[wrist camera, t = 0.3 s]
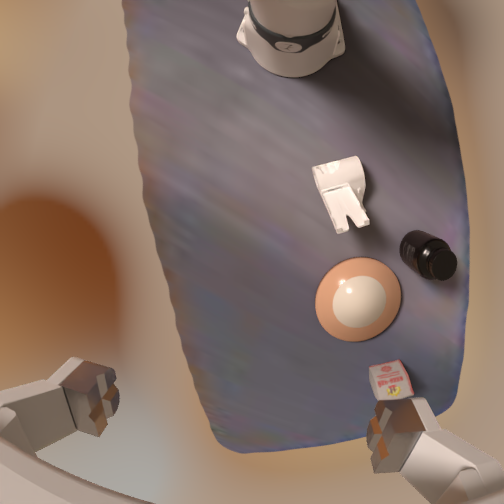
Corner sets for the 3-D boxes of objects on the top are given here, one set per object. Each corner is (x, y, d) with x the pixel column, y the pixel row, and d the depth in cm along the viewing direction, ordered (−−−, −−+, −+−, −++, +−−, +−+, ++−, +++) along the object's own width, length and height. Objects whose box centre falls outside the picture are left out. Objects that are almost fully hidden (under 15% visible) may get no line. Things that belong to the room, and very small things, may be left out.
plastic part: (353, 156, 50) (371, 151, 39) (367, 213, 52) (388, 222, 41) (311, 167, 52) (318, 164, 40) (326, 224, 53) (337, 236, 42)
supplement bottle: (417, 272, 54) (444, 295, 42) (391, 253, 53) (416, 273, 42) (437, 242, 52) (469, 259, 40) (412, 221, 52) (442, 234, 40)
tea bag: (399, 373, 59) (413, 401, 49) (369, 380, 60) (379, 410, 50) (399, 359, 58) (414, 387, 49) (368, 366, 59) (380, 396, 50)
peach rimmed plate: (323, 250, 55) (325, 253, 53) (407, 263, 54) (410, 265, 52) (307, 333, 58) (308, 337, 57) (385, 340, 57) (388, 344, 56)
